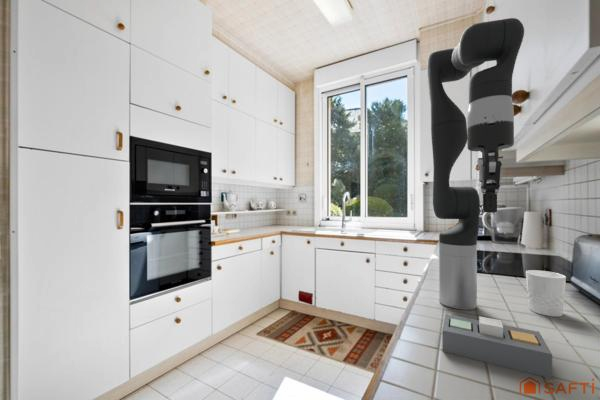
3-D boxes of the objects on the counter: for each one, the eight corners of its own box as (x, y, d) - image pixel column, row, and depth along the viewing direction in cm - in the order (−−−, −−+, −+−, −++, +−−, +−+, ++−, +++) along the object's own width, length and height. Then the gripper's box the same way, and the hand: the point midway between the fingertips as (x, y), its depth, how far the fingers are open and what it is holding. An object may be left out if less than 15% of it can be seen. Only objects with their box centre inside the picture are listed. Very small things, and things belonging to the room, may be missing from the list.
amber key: (510, 340, 53) (509, 329, 53) (534, 345, 51) (534, 334, 51) (512, 348, 50) (512, 337, 50) (538, 354, 48) (538, 343, 48)
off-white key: (479, 326, 55) (479, 316, 55) (501, 330, 53) (500, 320, 53) (479, 333, 52) (479, 323, 52) (503, 338, 50) (503, 327, 50)
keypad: (445, 331, 61) (445, 313, 61) (539, 352, 52) (539, 331, 52) (442, 350, 53) (442, 330, 53) (552, 378, 45) (552, 354, 45)
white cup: (524, 311, 72) (523, 273, 72) (527, 303, 78) (527, 268, 78) (565, 320, 66) (565, 279, 66) (566, 311, 72) (566, 273, 72)
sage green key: (450, 327, 58) (450, 318, 58) (470, 332, 56) (470, 322, 56) (450, 335, 55) (450, 325, 55) (471, 339, 53) (471, 329, 53)
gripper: (467, 134, 61) (467, 211, 61) (467, 118, 50) (467, 213, 50) (508, 129, 57) (508, 211, 57) (519, 112, 46) (520, 214, 46)
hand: (489, 212), depth 54 cm, fingers closed
